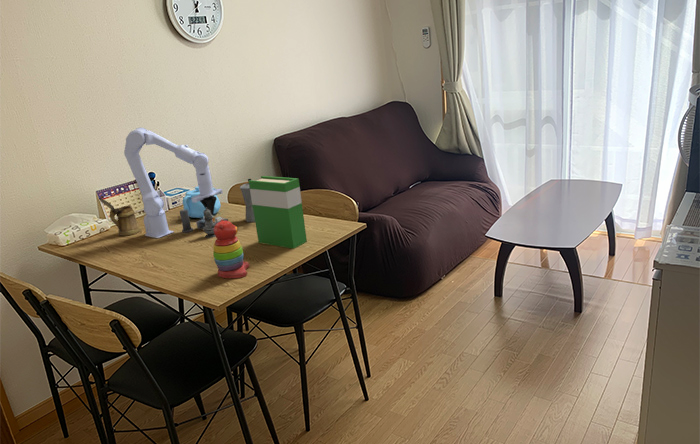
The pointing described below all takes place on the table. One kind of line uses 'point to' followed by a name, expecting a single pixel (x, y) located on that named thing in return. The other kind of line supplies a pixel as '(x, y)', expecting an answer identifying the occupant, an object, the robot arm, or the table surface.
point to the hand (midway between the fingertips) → (211, 214)
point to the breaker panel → (215, 220)
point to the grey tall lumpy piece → (208, 224)
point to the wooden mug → (123, 219)
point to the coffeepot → (248, 202)
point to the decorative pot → (197, 204)
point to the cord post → (185, 221)
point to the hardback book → (278, 211)
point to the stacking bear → (228, 251)
